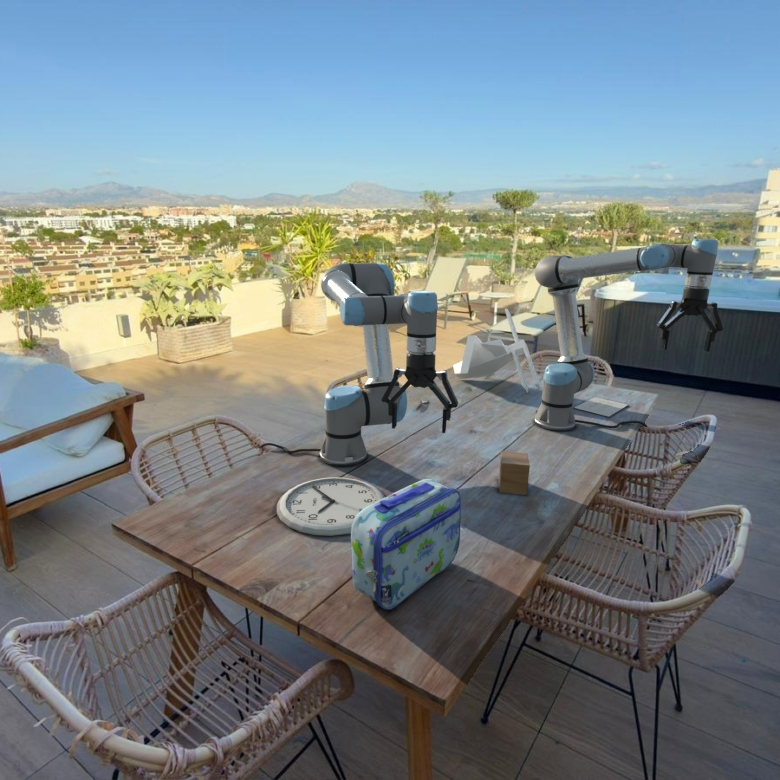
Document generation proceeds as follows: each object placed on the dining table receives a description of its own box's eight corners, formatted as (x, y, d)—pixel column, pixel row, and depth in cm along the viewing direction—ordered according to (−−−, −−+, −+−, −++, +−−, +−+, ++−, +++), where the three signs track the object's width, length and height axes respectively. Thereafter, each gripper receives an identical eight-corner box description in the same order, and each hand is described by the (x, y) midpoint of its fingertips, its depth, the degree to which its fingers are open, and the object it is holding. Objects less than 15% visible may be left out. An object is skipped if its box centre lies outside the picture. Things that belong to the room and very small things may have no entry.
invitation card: (608, 416, 214) (573, 407, 224) (608, 416, 214) (573, 408, 224) (628, 404, 229) (594, 396, 238) (628, 405, 229) (594, 397, 238)
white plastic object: (474, 421, 262) (452, 398, 237) (456, 348, 284) (434, 320, 259) (546, 397, 250) (531, 370, 225) (521, 322, 272) (505, 290, 247)
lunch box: (380, 623, 100) (381, 528, 94) (344, 596, 108) (343, 505, 101) (464, 565, 118) (470, 482, 112) (428, 545, 125) (432, 466, 119)
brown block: (498, 479, 159) (501, 451, 156) (524, 481, 158) (527, 453, 155) (499, 492, 151) (502, 463, 149) (526, 495, 150) (529, 465, 147)
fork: (413, 410, 217) (413, 405, 217) (424, 399, 232) (424, 394, 231) (419, 411, 217) (419, 406, 216) (429, 399, 231) (430, 395, 230)
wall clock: (392, 527, 129) (268, 531, 127) (391, 533, 130) (269, 537, 127) (383, 473, 158) (282, 475, 155) (383, 478, 158) (282, 480, 156)
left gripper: (370, 352, 134) (370, 429, 140) (468, 357, 129) (464, 438, 135) (377, 346, 141) (377, 420, 147) (470, 351, 136) (466, 428, 142)
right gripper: (660, 287, 172) (649, 350, 178) (743, 289, 168) (729, 354, 175) (653, 284, 179) (643, 345, 185) (732, 287, 175) (719, 349, 182)
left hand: (418, 429), depth 141 cm, fingers open, 13 cm apart
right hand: (685, 349), depth 180 cm, fingers open, 13 cm apart
